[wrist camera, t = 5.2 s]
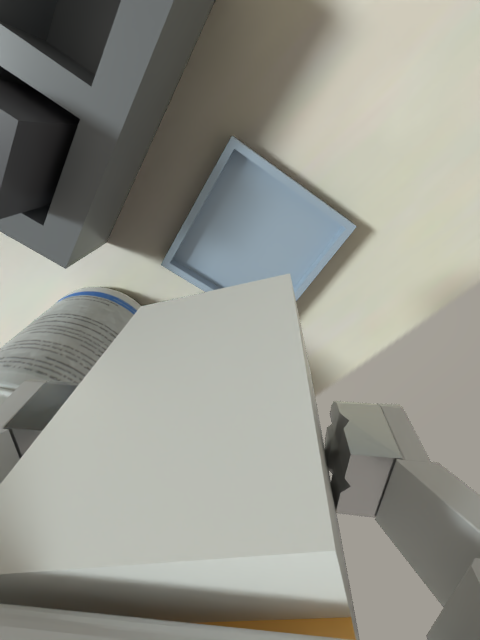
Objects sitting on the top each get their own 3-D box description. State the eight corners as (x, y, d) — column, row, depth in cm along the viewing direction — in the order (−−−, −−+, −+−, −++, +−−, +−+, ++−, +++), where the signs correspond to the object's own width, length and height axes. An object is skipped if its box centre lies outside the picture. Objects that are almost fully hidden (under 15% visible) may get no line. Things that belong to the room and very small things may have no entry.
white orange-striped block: (177, 390, 13) (53, 722, 5) (140, 306, 11) (-99, 609, 4) (310, 368, 12) (375, 729, 5) (290, 273, 10) (340, 586, 3)
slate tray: (271, 322, 29) (271, 331, 27) (166, 258, 27) (160, 264, 25) (351, 221, 24) (356, 226, 23) (233, 136, 22) (231, 136, 21)
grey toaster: (106, 242, 26) (27, 292, 18) (-9, 174, 25) (-158, 192, 16) (227, -28, 19) (192, -171, 10) (73, -156, 17) (-128, -462, 8)
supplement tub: (35, 305, 30) (-147, 435, 17) (126, 266, 27) (-2, 380, 14) (98, 388, 33) (-9, 545, 21) (183, 360, 31) (122, 517, 18)
